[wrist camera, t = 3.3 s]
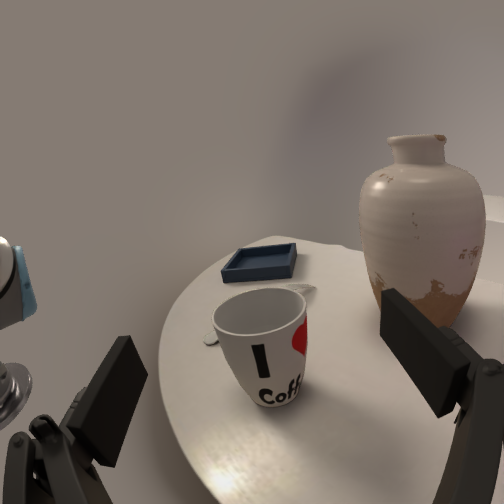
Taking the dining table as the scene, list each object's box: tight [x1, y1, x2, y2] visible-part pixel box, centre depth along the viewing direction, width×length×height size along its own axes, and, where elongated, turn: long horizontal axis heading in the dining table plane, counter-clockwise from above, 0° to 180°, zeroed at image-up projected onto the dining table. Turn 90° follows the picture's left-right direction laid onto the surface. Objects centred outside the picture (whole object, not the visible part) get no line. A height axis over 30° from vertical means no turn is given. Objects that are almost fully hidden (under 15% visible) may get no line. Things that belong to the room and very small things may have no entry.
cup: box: [211, 287, 308, 407], centre depth 25 cm, size 8×8×10 cm
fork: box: [203, 284, 316, 345], centre depth 43 cm, size 3×21×3 cm, turn 126°
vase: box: [359, 135, 486, 328], centre depth 29 cm, size 16×16×23 cm
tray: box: [221, 243, 297, 283], centre depth 61 cm, size 14×14×3 cm
